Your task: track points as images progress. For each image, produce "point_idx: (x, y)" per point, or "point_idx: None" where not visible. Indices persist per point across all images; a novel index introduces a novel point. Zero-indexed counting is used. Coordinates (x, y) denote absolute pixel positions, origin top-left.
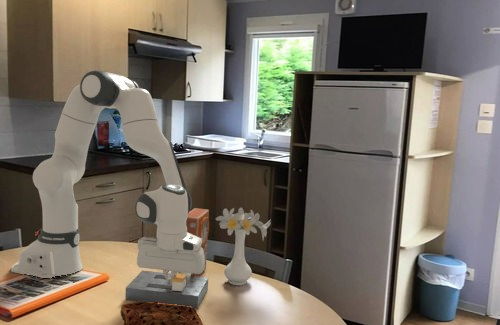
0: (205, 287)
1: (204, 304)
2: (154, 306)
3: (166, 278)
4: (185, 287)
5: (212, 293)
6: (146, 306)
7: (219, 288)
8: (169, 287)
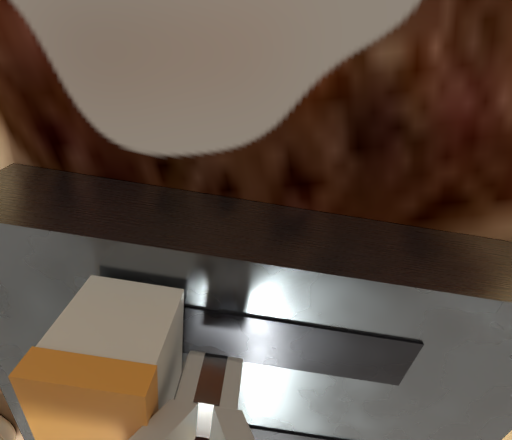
0: None
1: None
2: (323, 175)
3: (236, 413)
4: None
5: None
6: (384, 171)
7: None
8: (222, 333)
